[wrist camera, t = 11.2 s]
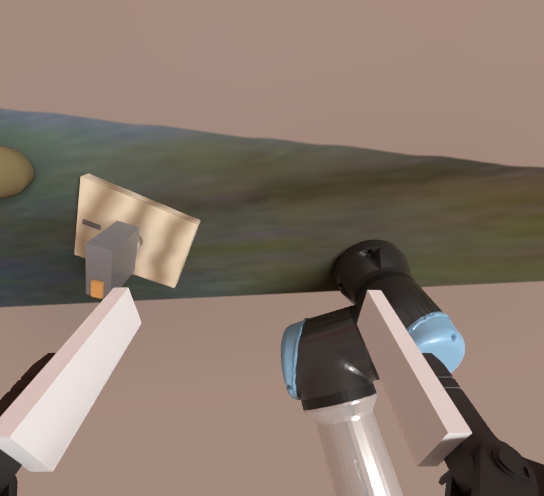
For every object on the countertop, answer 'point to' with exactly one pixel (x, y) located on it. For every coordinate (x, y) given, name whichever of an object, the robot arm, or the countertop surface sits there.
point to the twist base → (141, 213)
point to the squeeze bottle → (14, 172)
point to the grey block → (110, 258)
